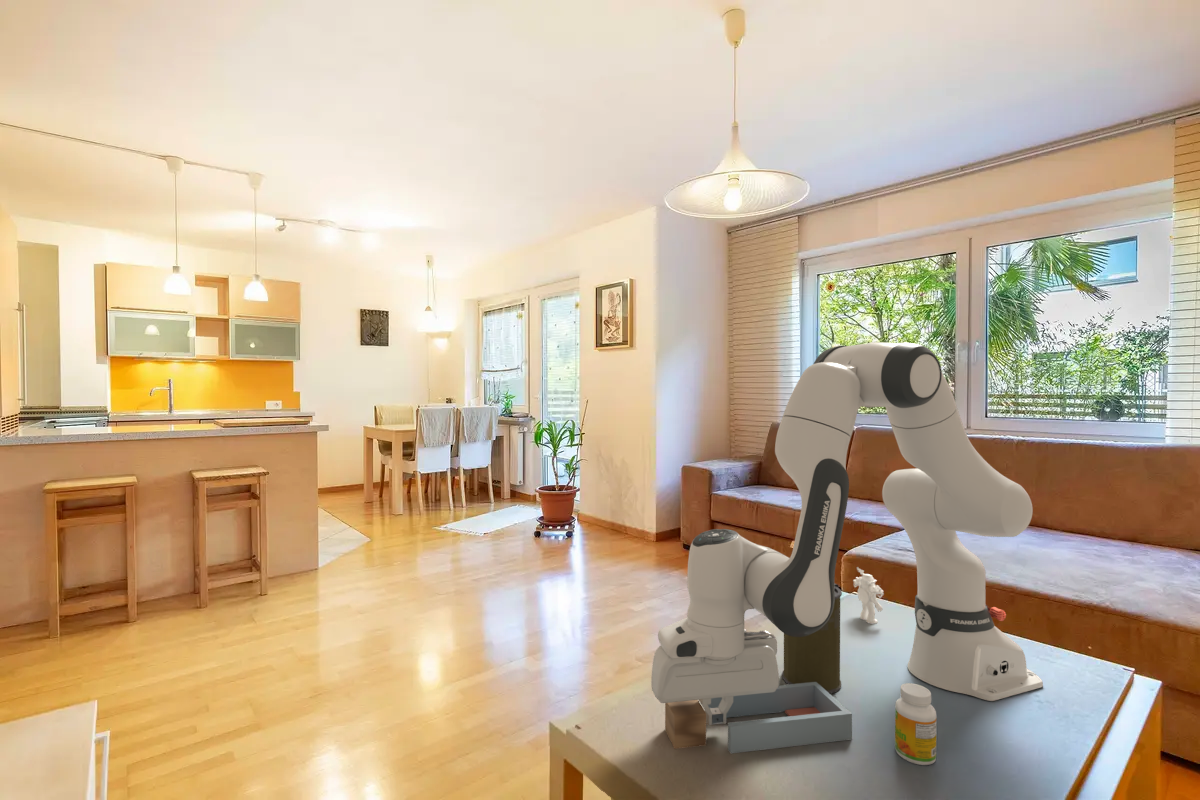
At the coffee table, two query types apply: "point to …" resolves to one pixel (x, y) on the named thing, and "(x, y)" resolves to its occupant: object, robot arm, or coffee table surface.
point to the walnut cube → (685, 724)
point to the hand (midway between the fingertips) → (715, 722)
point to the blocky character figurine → (868, 596)
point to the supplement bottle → (915, 725)
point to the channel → (787, 718)
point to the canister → (816, 654)
